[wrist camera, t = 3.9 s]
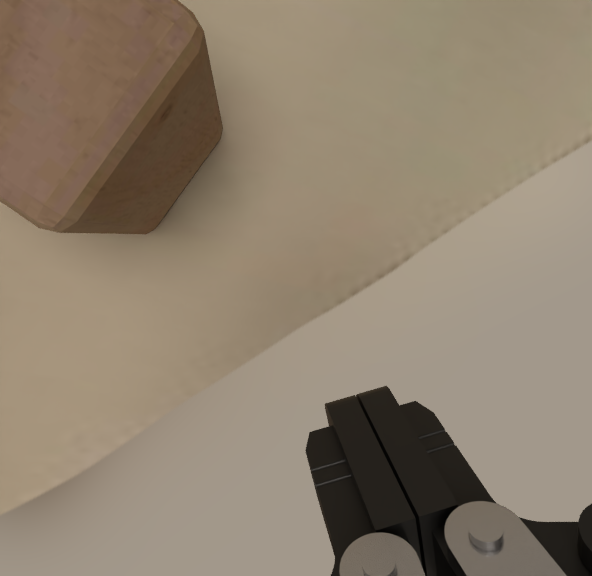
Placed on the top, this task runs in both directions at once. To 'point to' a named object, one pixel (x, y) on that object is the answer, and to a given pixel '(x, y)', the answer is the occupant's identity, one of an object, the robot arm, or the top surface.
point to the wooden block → (102, 111)
